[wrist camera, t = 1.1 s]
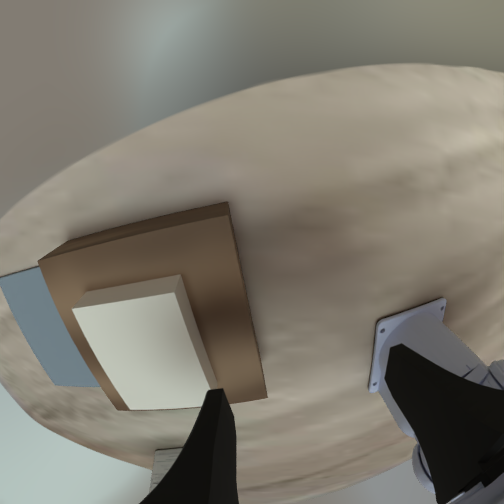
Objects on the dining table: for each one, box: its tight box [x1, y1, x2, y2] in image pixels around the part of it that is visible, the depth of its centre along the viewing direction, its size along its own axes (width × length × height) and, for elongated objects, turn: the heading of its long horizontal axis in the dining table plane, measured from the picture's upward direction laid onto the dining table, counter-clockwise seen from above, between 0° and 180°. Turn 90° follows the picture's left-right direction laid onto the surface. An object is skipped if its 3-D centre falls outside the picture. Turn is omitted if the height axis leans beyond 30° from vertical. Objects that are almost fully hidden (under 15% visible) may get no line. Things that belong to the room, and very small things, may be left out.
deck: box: [38, 202, 268, 411], centre depth 17 cm, size 13×12×4 cm
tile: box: [72, 274, 217, 410], centre depth 14 cm, size 8×6×2 cm
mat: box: [0, 266, 101, 387], centre depth 19 cm, size 12×10×1 cm
